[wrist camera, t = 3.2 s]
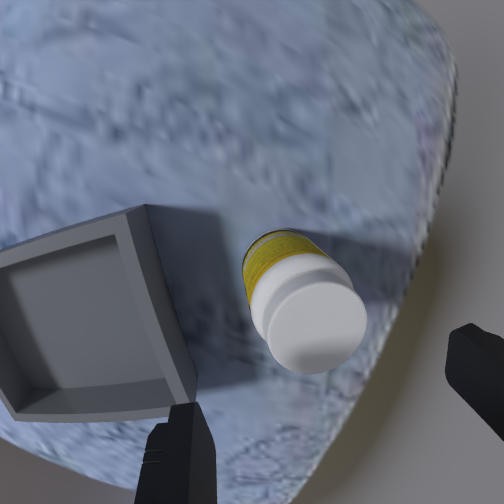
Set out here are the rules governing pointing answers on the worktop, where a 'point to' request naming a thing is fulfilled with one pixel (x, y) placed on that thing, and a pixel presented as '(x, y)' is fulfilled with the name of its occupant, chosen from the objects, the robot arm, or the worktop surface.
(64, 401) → the tray
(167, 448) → the robot arm
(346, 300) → the supplement bottle
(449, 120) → the worktop surface
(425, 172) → the worktop surface
